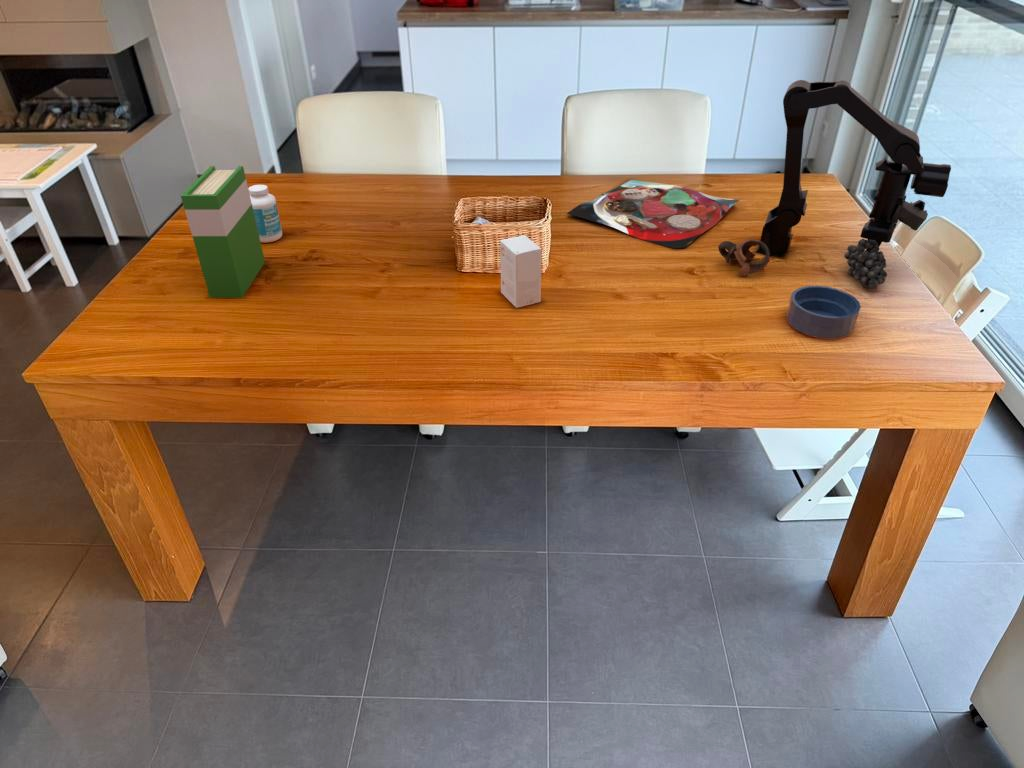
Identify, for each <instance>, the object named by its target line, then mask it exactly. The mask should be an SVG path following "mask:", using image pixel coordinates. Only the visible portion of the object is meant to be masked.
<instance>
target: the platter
mask: <svg viewBox="0 0 1024 768" xmlns="http://www.w3.org/2000/svg"><path fill="white" fill-rule="evenodd" d="M739 202H740V199H735V198H727V197H720V196H714V195H709V194H706V193H703V192H701V191H698V190H695V189H692V188H690V187H689V188H688V187H684V186H680V185H675V184H668V183H660V182H651V181H643V180H637V179H630V180H628V181H626V182H625V183H623V184H621V185H619V186H617V187H615V188H612V189H610V190H608V191H605V192H604V193H601V194H599V195H598V196H597V197H595V198H594V199H592V200H588V201H586V202H582V203H580V204H578V205H577V206H575V207H574V208H572V209H571V210H569V211H568V212H566V213H565V215H570V216H574V217H578V218H581V219H585V220H588V221H591V222H594V223H598V224H603V225H605V226H608V227H611V228H614V229H616V230H618V231H620V232H623V233H625V234H627V235H630V236H631V237H635V238H638V239H641V240H644V241H647V242H650V243H652V244H657V245H659V246H664V247H666V248H671V249H675V250H676V249H684V248H686V247H687V246H689V245H690V244H691V243H692V242H694V241H695V240H696V239H697V238H698V237H700V236H701V235H703V234H704V233H705V232H706V231H708V230H710V229H712V228H713V227H715V226H716V225H717V224H718V223H719V222H720V220H722V218H723V217H724V216H725V215H726V213H727V212H728V211H729V210H730V209H731V208H732V207H733V206H735V205H736V204H737V203H739Z"/></svg>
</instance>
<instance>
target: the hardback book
mask: <svg viewBox="0 0 1024 768" xmlns="http://www.w3.org/2000/svg"><path fill="white" fill-rule="evenodd" d="M244 168H245V167H244V165H238V167H237V168H236V169H216V166H215V165H210V166H209V167H208V168H207V169H206V170H205V171H204V172H203V173H202V174H201V175H200V176H199V177H198V178H197V179H195V181H194V182H193V183H192V184H191V185H190V186H189V187H187V189H186V190H185V191H184V192H182V194H181V195H180V199H181V202H182V205H183V209H184V212H185V216H186V220H187V222H188V227H189V229H190V233H191V237H192V240H193V244H194V247H195V250H196V254H197V257H198V261H199V265H200V269H201V271H202V275H203V279H204V282H205V286H206V289H207V292H208V296H209V298H212V299H214V298H215V299H216V298H219V299H221V298H222V299H223V298H224V299H226V298H231V299H232V298H234V299H235V298H237V299H238V298H239V299H241V298H243V297H244V296H245V294H246V293H247V291H248V289H249V288H250V287H251V285H252V283H253V282H254V280H255V279H256V277H257V275H258V273H260V271H261V269H262V268H263V266H264V264H265V263H266V261H265V256H264V252H263V246H262V242H260V238H259V234H258V229H257V225H256V221H255V216H254V212H253V207H252V203H251V199H250V194H249V190H248V188H249V186H248V181H247V177H246V173H245V169H244Z"/></svg>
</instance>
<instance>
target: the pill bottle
mask: <svg viewBox="0 0 1024 768" xmlns="http://www.w3.org/2000/svg"><path fill="white" fill-rule="evenodd" d="M248 190H249V194H250V199H251V203H252V207H253V212H254V216H255V221H256V225H257V229H258V234H259V238H260V242H261V243H266V244H267V243H273V242H276V241H278V240H280V239H281V238H282V237H283V229H282V224H281V219H280V215H279V209H278V203H277V199H276V196H275V195H273V194H271V193H269V187H268V186H267V185H266V184H254V185H251V186H248Z"/></svg>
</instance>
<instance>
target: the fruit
mask: <svg viewBox="0 0 1024 768" xmlns="http://www.w3.org/2000/svg"><path fill="white" fill-rule="evenodd" d="M880 249H881V248H880V247H878V242H877V241H875V240H870V239H869V240H867V239H865V238H860V239H859V240H858V242H857V244H856V245H854V244H849V245H848V246H847V248H846V252H845V253H844V255H843V258H845V259H846V260H847V261H846V263H847V266H848V267H849V269H848V270H847V271H848V272H847V273H848V275H850V276H853V277H854V279H855V281H857V282H860V283H861V284H862V287H863V288H865V289H868V290H870V291H874V290H876V289H877V288H878V285H883V284H884V283H885V282H886V277H887V276H888V272H887V271H886V270H885V268H886V267H887V260H886V258H885V255H884V252H883V251H882V250H880Z"/></svg>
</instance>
